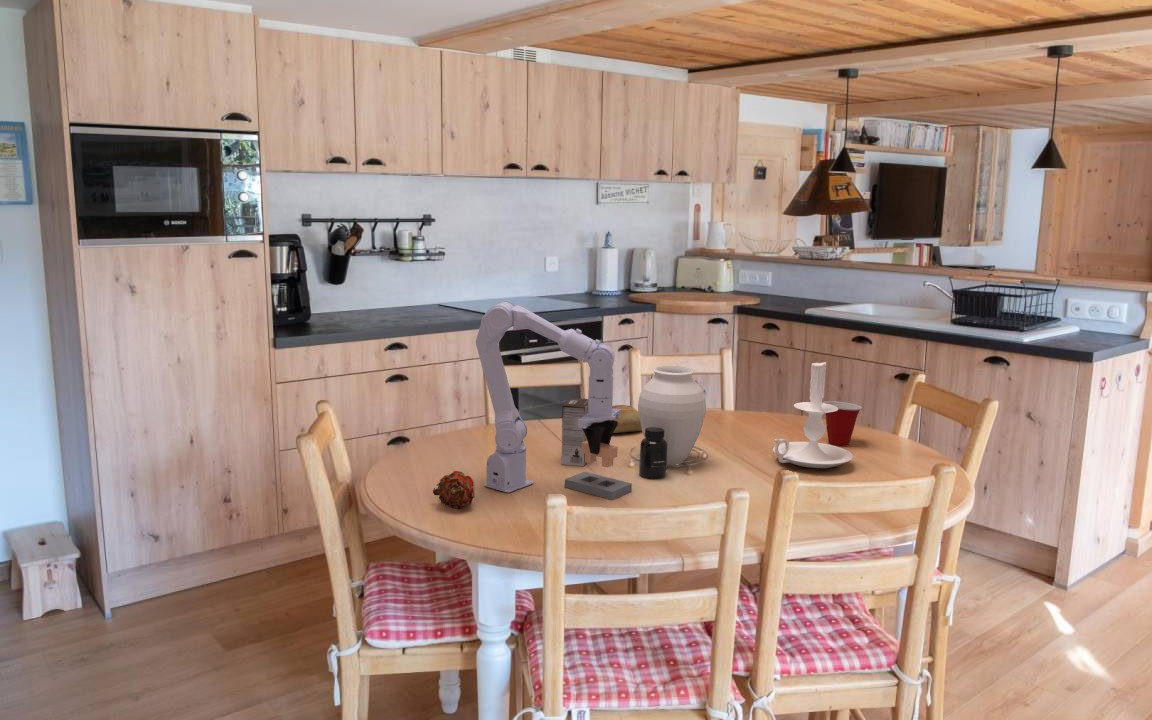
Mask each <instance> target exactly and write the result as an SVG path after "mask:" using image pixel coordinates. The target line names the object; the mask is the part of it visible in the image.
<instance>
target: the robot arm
mask: <svg viewBox="0 0 1152 720" xmlns="http://www.w3.org/2000/svg"><path fill="white" fill-rule="evenodd" d="M511 327H513V328H512V330H523V329H525V330H526V329H527V330H530V331H531V332H534V333H536V334H539V335H540V336H542V337H545V338H547V339H549V340H550V341H553V342H555V343H557V345H558V347H559V350H560V351H561V352H563V353H565V354H567V355H569V356H571V357H573V358H574V359H576V360H578V361H580V362H582V363H584V364H585V363H587V365H588V367H589V376H588V396H587V397H588V398H587V399H588V413H587V414H586V415H585V416H583V417H582V418H580V419H578V427H579V428H582V429H583V431H584V433H585V435H586V438H587V441H588V445H589V449H590V453H592V454H596V455H597V454H599V451H600V443H604V444H609V445H611V439H612V437H613V436H614V435H613V434H614V433H613V432H614V430H615V429H616V427H617V426H618V422H617V421H614V420H615V419H616V418H620V417H621V410H620V409H615V408H614V409H612V406H613V397H614V377H613V375H614V370H613V369H614V368H613V366H614V362H615V352H614V350H613V348H612V347H611V346H609V345H608V344H607V343H605V342H601V341H600V340H599V339H597V338H596V339H595V340H594V339H592V338H591V337H589V336H587V335H585V334H583V332H582V330H581V329H579V328H576V330H575V329H573V328H570V329H569V328H568V329H566V330H564V329H562V328H560V327H559V326H557V325H556V324H553V323H552V322H550V321H548V320H546V319H545V318H543V317H541V316H539V315H538V314H536V313H534V312H532V311H531V310H528V309H527V308H525V307H523V306H521V305H518V304H516V305H515V303H514V302H511V301H509V300H502V301H500V302H497V303H496V304H495V305H493V306H491V307H490V308H489V309H487V310H486V312H485V314H484V315H483V316H482V317H481V322H480V326H479V329H478V332H477V336H476V339H475V345H476V349H477V353H478V356H479V360H480V364H481V368H482V371H483V375H484V378H485V382H486V386H487V389H488V393H489V397H490V400H491V404H492V407H493V411H494V426H495V436H494V440H495V441H494V442H495V445H496V447H495V448H496V449H495V451H494V452H493V453H491V454H490V455H489V456H488V457H487V460H486V482H485V483H484V484H483V486H484V487H486V488H490V489H494V490H498V491H501V492H504V493H507V494H508V493H512V492H514V491H516V490H519V489H522V488H525V487H528V486H530V485H533V484H534V481H533V480H529V479H527V445H526V443H524V442H525V441H524V439H525V438H526V437H527V435H528V427H527V424H526V422H524V420H523V418H522V417H521V415H520V412H519V410H518V408H516V406H515V403H514V399H513V394H512V390H511V387H510V382H509V380H508V376H507V374H506V373H507V372H506V369H505V365H504V362H503V357H502V354H501V351H500V346H499V343H500V341H501V340H502V338H503V337H504V335H505V333H506V332H507V331H508V330H509V329H510V328H511Z"/></svg>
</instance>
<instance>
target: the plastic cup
mask: <svg viewBox="0 0 1152 720" xmlns="http://www.w3.org/2000/svg"><path fill="white" fill-rule="evenodd" d="M822 403H825V404H830V405H833V406H836V407H837V408H838V410H837V411H834V412H828V413H825V422H826V425H825V426H826V433H827V441H828V445H833V446H837V447H847V446H850V443H851V440H852V436H853V433H854V429H855V425H856V421H857V418H858V415H859V413H860V411H861V410H862V408H863V407H862V406H861V405H858V404H855V403H850V402H844V401H835V400H830V401H829V400H827V401H826V400H825V401H822Z"/></svg>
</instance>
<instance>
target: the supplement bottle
mask: <svg viewBox="0 0 1152 720" xmlns="http://www.w3.org/2000/svg"><path fill="white" fill-rule="evenodd" d="M645 437H646V438H643V439H641V441H640V445H639V447H640V448H639V449H640V450H639V465H638V466H639V467H638V473H639V475H640V477H642V478H646V479H652V480H657V479H659V480H660V479H663V478H665V477H666V475H667V466H668V465H667V447H668V444H667V442H666V441H665V440H664V439H663V438H664V429H662V428H657V427H649V428H646V429H645Z"/></svg>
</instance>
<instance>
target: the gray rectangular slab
mask: <svg viewBox="0 0 1152 720" xmlns="http://www.w3.org/2000/svg"><path fill="white" fill-rule="evenodd" d="M632 485H633V483H631V482H628V481H623V480H620V479H616V478H611V477H609V476H604V475H599V474H596V473H593V472H588V471H583V472H580V473H577V474H574V475H572V476H569V477H567V478H564V488H566V489H570V490H574V491H577V492H581V493H586V494H588V493H589V495H591V494H592V496H595V495H596V497H599V496H600V497H599V498H602V497H604V498H603V499H606V498H608V499H607V500H610V499H611V500H610V501H613V499H614V500H615V498H616V499H618V498H620V497H623V496H624V495H627V494H629V493H631V492H632ZM622 495H623V496H622ZM617 497H618V498H617Z"/></svg>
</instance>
